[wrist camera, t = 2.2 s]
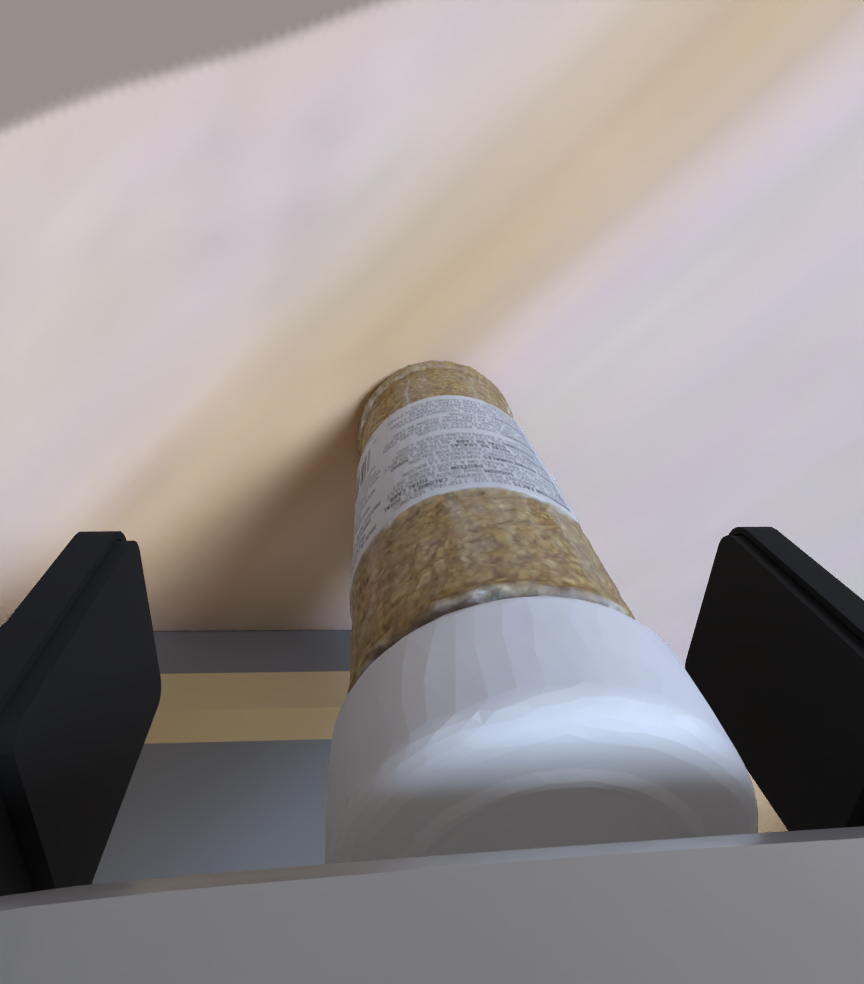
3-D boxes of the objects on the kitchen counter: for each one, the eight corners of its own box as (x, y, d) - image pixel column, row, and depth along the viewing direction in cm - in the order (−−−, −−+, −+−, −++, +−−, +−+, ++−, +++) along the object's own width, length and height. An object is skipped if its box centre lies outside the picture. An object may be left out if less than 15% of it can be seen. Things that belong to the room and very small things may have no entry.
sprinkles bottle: (481, 518, 20) (653, 1036, 8) (337, 482, 19) (273, 1004, 7) (536, 380, 18) (869, 765, 6) (380, 332, 17) (396, 674, 5)
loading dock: (453, 629, 21) (466, 704, 18) (432, 879, 27) (440, 970, 24) (-123, 634, 20) (-218, 718, 17) (-20, 900, 25) (-76, 1002, 22)
